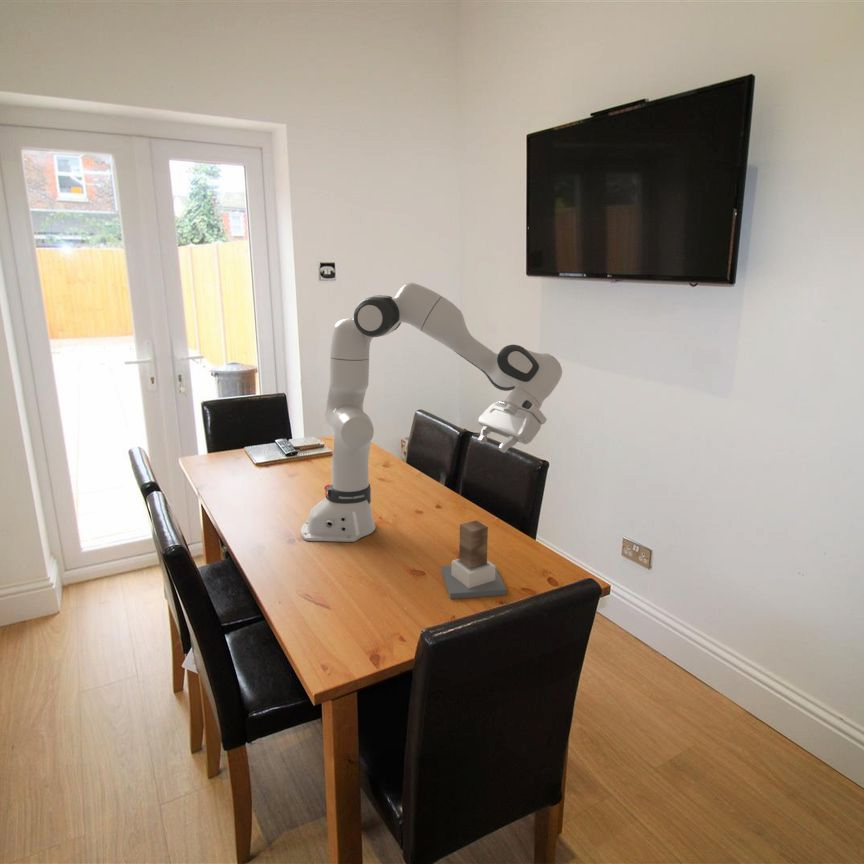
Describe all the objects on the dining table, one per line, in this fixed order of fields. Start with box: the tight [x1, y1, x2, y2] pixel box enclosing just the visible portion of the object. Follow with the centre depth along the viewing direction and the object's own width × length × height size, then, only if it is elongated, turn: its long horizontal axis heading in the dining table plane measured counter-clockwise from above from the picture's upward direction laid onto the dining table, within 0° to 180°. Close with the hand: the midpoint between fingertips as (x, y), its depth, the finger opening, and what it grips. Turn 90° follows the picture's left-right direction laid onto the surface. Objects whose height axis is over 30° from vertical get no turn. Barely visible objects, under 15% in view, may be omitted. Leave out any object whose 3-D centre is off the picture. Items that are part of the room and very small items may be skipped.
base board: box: [441, 558, 508, 600], centre depth 156 cm, size 14×14×6 cm
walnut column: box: [458, 519, 489, 569], centre depth 154 cm, size 5×5×10 cm
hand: (490, 446), depth 165 cm, fingers open, 8 cm apart
